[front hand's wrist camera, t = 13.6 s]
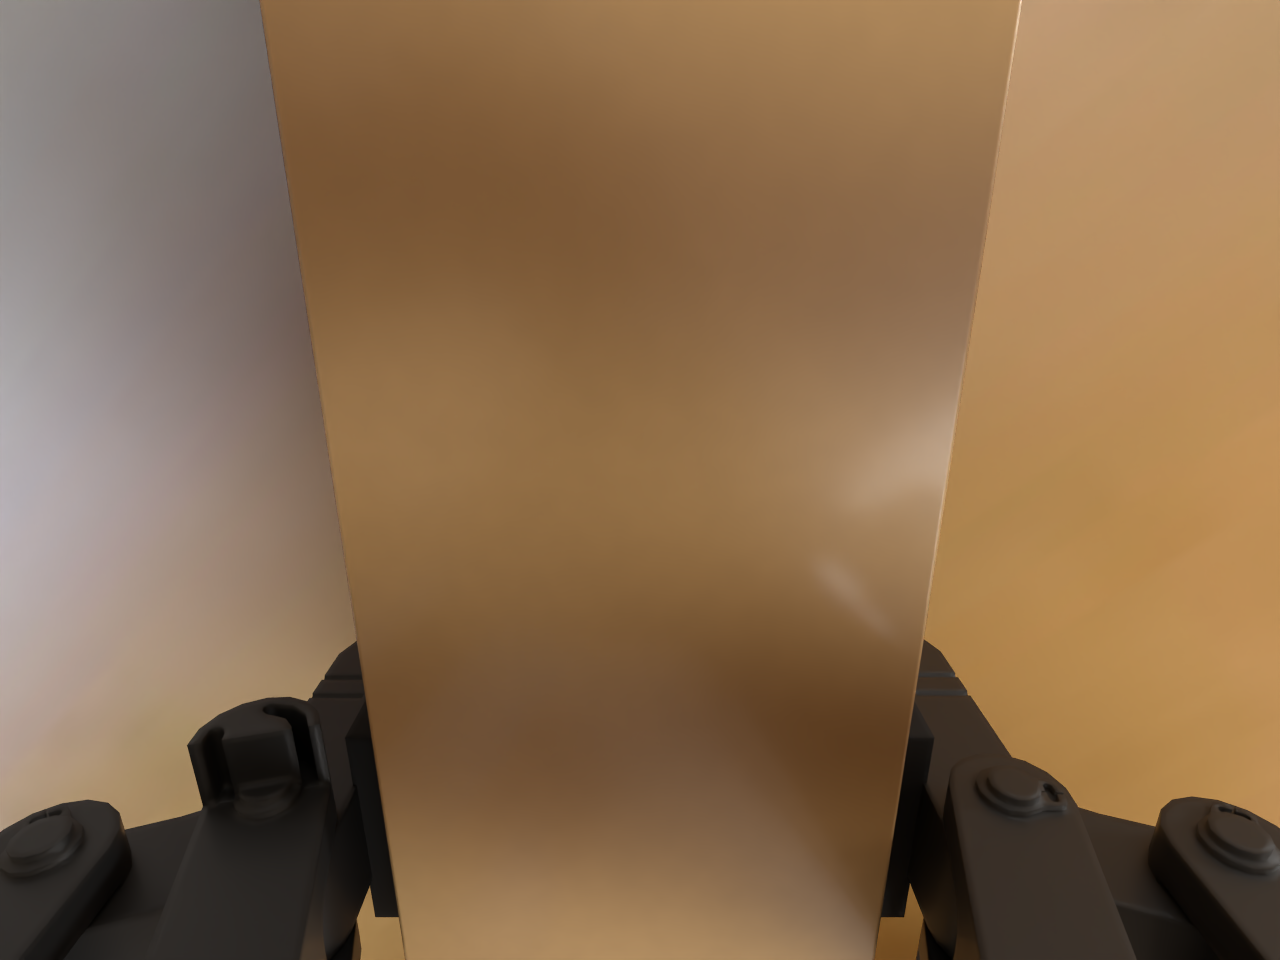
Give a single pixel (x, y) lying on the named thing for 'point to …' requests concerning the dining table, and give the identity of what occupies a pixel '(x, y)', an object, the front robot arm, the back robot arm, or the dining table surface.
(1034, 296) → the dining table surface
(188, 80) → the dining table surface
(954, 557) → the dining table surface
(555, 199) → the beam
